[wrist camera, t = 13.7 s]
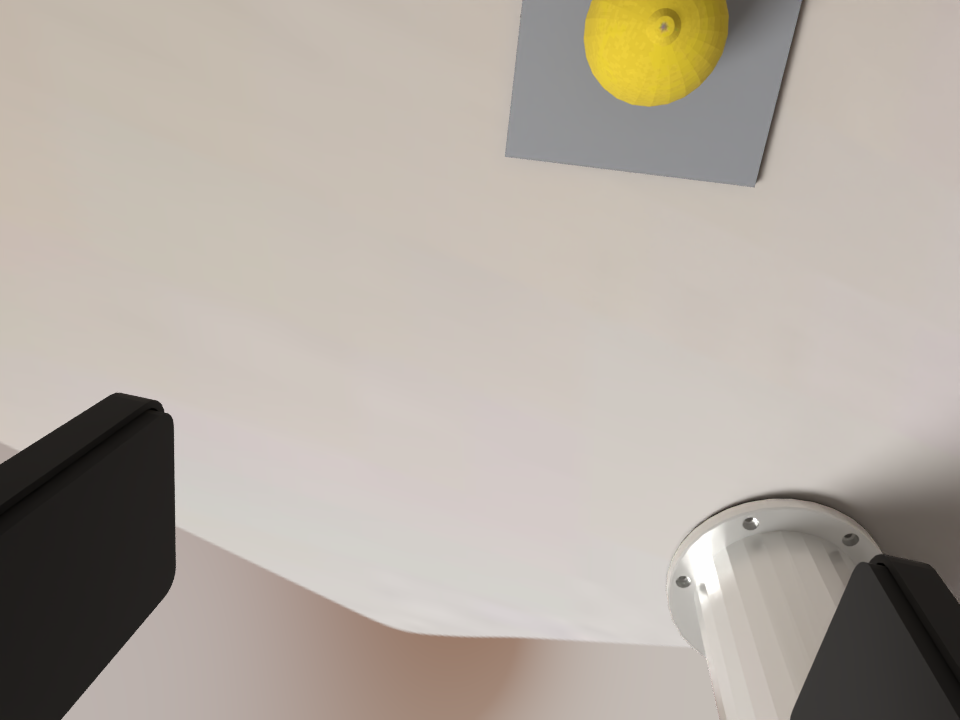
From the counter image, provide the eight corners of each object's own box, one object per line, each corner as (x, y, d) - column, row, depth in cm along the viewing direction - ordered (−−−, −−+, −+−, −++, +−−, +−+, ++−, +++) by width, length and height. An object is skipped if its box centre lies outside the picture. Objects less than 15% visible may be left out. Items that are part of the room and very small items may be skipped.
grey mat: (825, -107, 29) (830, -110, 29) (751, 185, 34) (754, 187, 33) (538, -132, 30) (537, -136, 30) (506, 155, 35) (504, 156, 34)
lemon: (604, -47, 31) (611, -84, 23) (728, -15, 30) (774, -43, 23) (569, 85, 33) (564, 90, 25) (684, 116, 33) (713, 129, 25)
